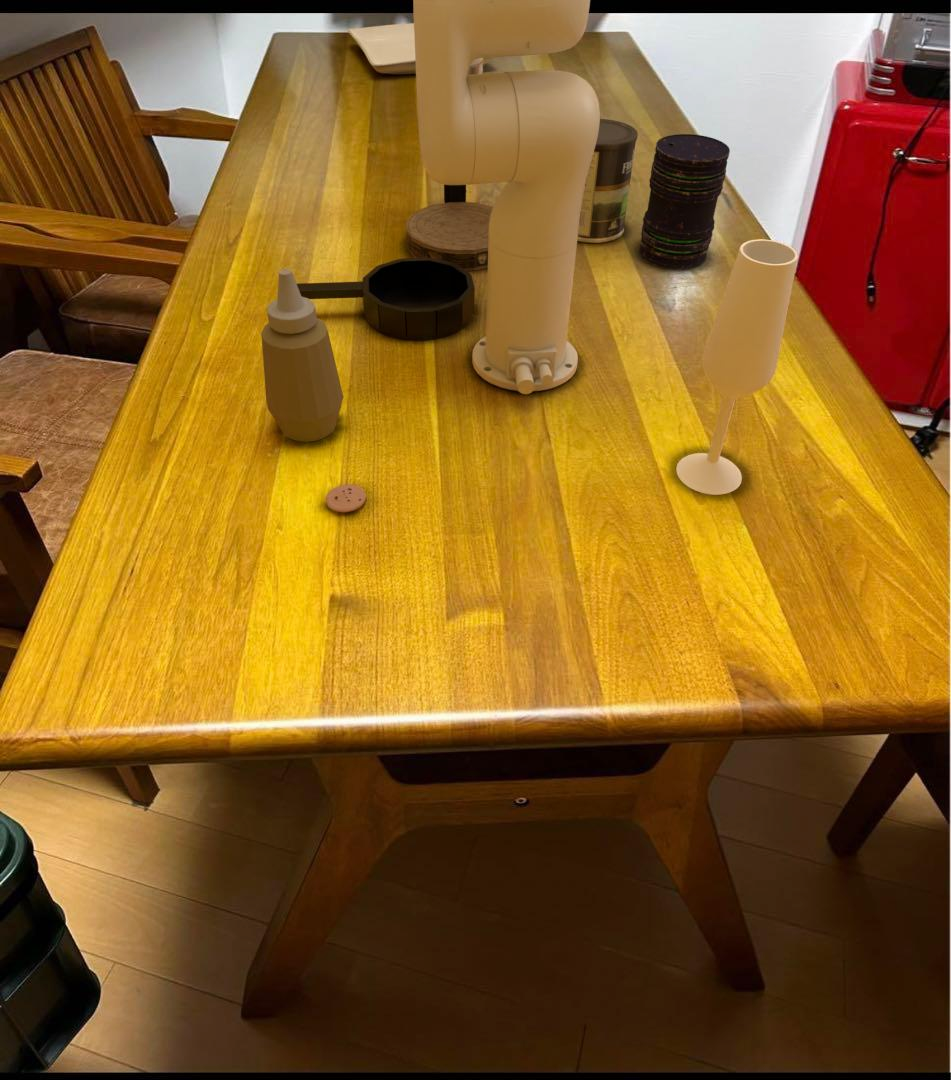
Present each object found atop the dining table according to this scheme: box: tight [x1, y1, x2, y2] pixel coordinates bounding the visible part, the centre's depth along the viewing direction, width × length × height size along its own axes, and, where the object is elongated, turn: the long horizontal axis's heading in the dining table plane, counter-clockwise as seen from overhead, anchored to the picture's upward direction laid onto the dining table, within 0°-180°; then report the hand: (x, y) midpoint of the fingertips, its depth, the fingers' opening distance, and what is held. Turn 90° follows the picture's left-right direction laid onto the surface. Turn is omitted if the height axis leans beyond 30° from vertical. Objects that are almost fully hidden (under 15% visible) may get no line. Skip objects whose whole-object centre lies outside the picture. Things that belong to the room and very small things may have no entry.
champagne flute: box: [675, 238, 799, 496], centre depth 79 cm, size 7×7×24 cm
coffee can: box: [577, 118, 639, 244], centre depth 123 cm, size 10×10×14 cm
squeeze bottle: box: [260, 268, 344, 443], centre depth 85 cm, size 8×8×18 cm
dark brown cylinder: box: [638, 133, 731, 271], centre depth 117 cm, size 10×10×15 cm
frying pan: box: [296, 257, 475, 341], centre depth 108 cm, size 14×24×4 cm, turn 96°
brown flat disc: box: [406, 201, 493, 272], centre depth 122 cm, size 16×16×3 cm
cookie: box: [325, 483, 367, 513], centre depth 83 cm, size 4×4×1 cm
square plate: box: [347, 22, 495, 76], centre depth 187 cm, size 27×27×4 cm
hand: (454, 204), depth 129 cm, fingers closed
